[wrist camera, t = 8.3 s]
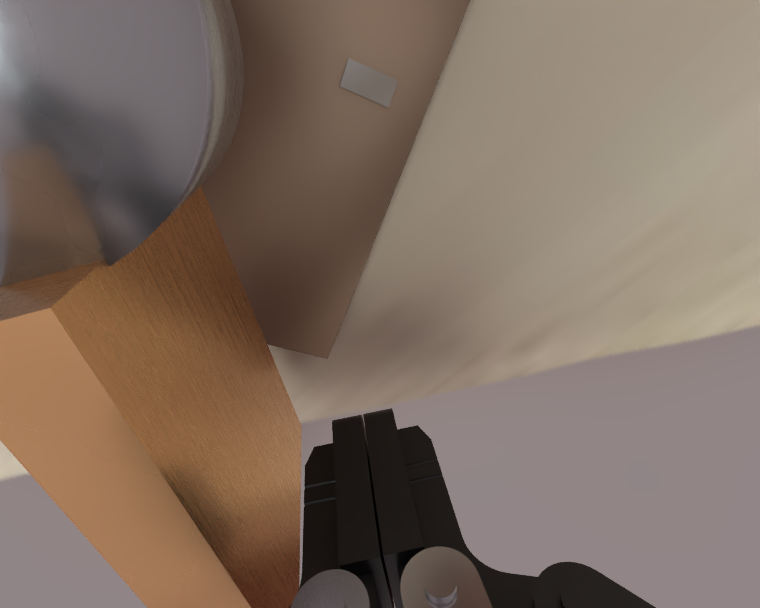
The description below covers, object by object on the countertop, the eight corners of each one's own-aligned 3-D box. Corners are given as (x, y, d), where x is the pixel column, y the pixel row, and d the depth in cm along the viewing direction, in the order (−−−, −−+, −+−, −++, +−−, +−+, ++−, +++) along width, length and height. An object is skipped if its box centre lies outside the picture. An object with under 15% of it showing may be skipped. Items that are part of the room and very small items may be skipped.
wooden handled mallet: (-135, -89, 8) (-1724, -704, 2) (189, -165, 9) (-190, -966, 2) (193, 456, 16) (110, 733, 9) (367, 408, 16) (412, 643, 9)
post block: (-145, 218, 14) (-413, 299, 9) (-210, -564, 8) (-1113, -1694, 3) (325, 339, 19) (333, 439, 14) (499, -107, 13) (632, -238, 8)
